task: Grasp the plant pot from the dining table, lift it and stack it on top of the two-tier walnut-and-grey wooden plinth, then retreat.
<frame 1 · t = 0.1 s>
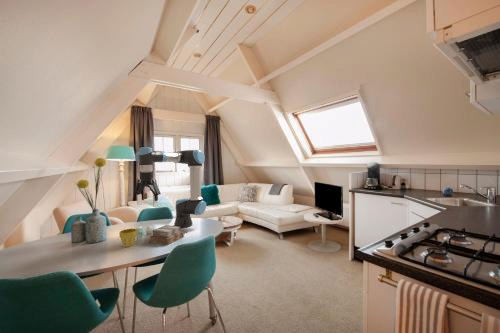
hand: (147, 205, 140), 28 cm above the table, fingers open, 13 cm apart
plant pot: (128, 245, 148), on the table
tower plinth: (167, 239, 157), on the table
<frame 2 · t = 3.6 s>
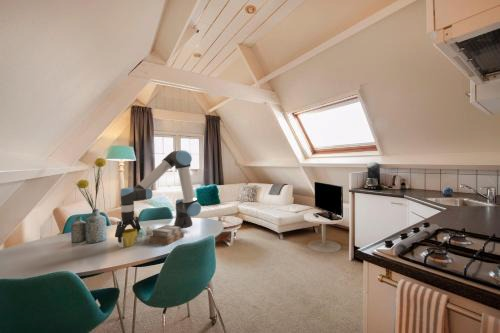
hand: (128, 243, 148), 1 cm above the table, fingers closed on plant pot, 10 cm apart
plant pot: (128, 245, 148), on the table, touching gripper
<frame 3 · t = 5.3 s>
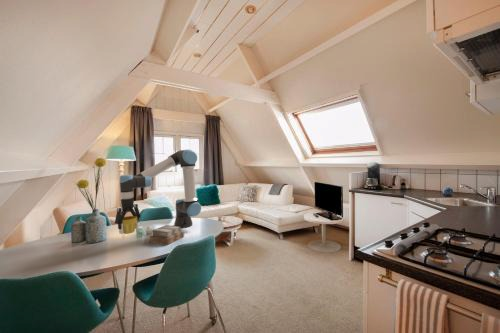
hand: (128, 230, 148), 9 cm above the table, fingers closed on plant pot, 10 cm apart
plant pot: (129, 232, 148), point 8 cm above the table, touching gripper
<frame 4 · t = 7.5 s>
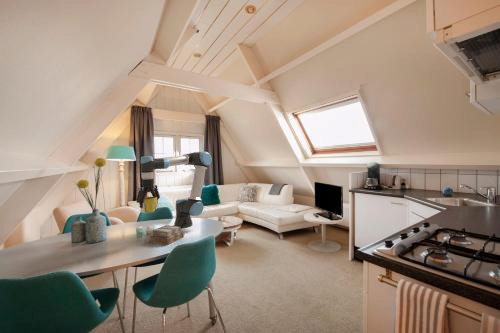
hand: (149, 210, 153), 22 cm above the table, fingers closed on plant pot, 10 cm apart
plant pot: (149, 212, 153), point 21 cm above the table, touching gripper
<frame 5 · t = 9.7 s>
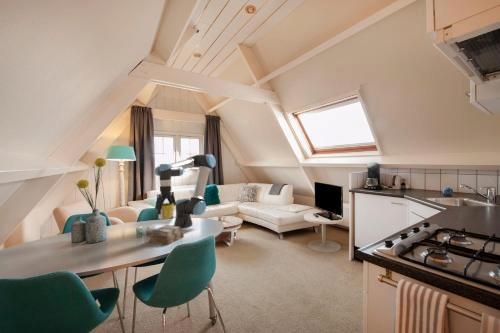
hand: (166, 216, 157), 16 cm above the table, fingers closed on plant pot, 10 cm apart
plant pot: (166, 218, 157), point 15 cm above the table, touching gripper
when the fingers open (10 cm above the table, at t = 11.4 s): plant pot drops 1 cm, resting on tower plinth.
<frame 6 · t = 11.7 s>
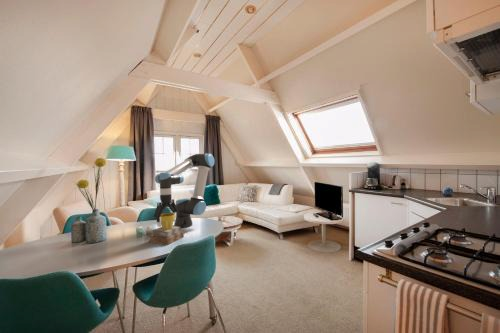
hand: (166, 224, 157), 11 cm above the table, fingers open, 13 cm apart
plant pot: (167, 228, 158), point 8 cm above the table, touching tower plinth
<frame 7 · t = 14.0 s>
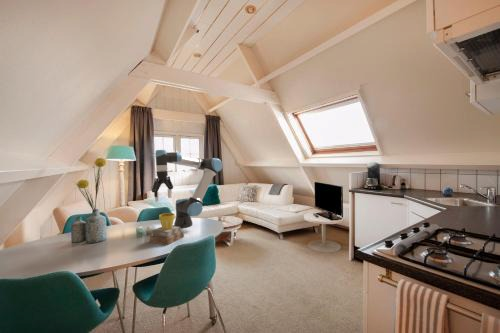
hand: (163, 199, 164), 27 cm above the table, fingers open, 13 cm apart
nothing on the table moved.
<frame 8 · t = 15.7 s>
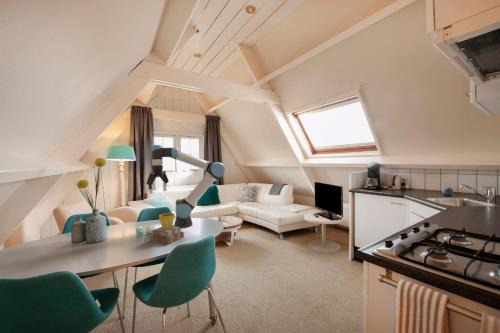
hand: (158, 192, 172), 32 cm above the table, fingers open, 13 cm apart
nothing on the table moved.
at the end: plant pot inside the target area on the tower plinth (0.5 cm from its centre), point 7.8 cm above the tower plinth's base; plant pot tilted 0°; the gripper is holding nothing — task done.
